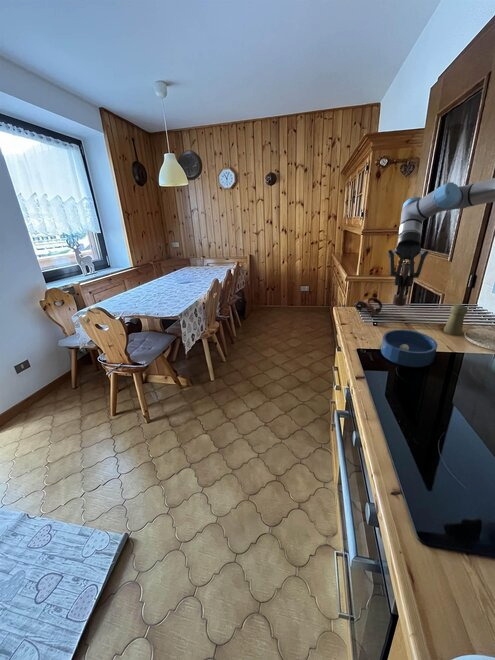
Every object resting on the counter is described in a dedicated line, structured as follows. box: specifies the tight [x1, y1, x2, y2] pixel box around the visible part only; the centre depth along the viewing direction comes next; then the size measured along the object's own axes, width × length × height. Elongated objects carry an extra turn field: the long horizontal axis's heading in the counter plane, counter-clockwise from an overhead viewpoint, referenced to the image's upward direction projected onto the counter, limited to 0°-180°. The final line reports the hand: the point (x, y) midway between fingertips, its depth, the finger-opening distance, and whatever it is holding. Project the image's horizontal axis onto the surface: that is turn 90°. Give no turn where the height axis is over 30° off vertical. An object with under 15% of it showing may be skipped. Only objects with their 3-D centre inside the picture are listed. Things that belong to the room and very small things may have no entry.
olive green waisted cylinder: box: [443, 304, 468, 336], centre depth 110 cm, size 6×6×11 cm
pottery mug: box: [354, 297, 383, 317], centre depth 132 cm, size 12×10×8 cm
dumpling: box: [400, 344, 409, 351], centre depth 99 cm, size 3×3×3 cm
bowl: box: [380, 329, 439, 368], centre depth 99 cm, size 17×17×6 cm
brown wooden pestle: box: [392, 263, 410, 307], centre depth 102 cm, size 4×4×15 cm
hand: (402, 293), depth 100 cm, fingers closed on brown wooden pestle, 2 cm apart
